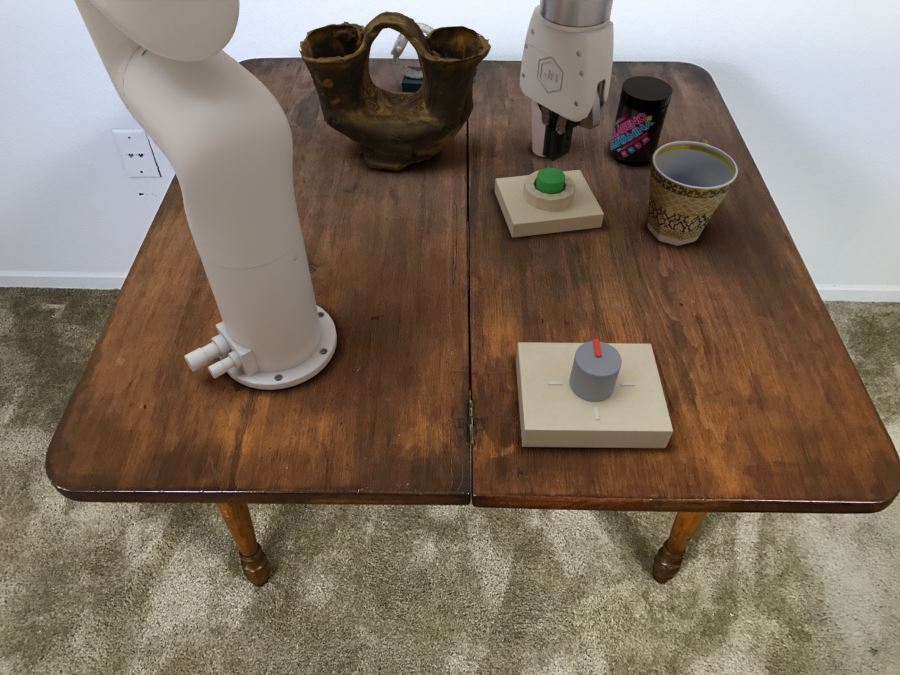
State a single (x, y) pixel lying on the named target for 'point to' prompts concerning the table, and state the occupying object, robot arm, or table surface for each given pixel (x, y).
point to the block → (547, 205)
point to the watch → (411, 74)
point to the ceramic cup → (687, 189)
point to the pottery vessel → (387, 112)
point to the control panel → (590, 422)
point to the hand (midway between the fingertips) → (555, 153)
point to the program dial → (595, 370)
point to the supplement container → (639, 119)
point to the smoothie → (537, 129)
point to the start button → (550, 181)
